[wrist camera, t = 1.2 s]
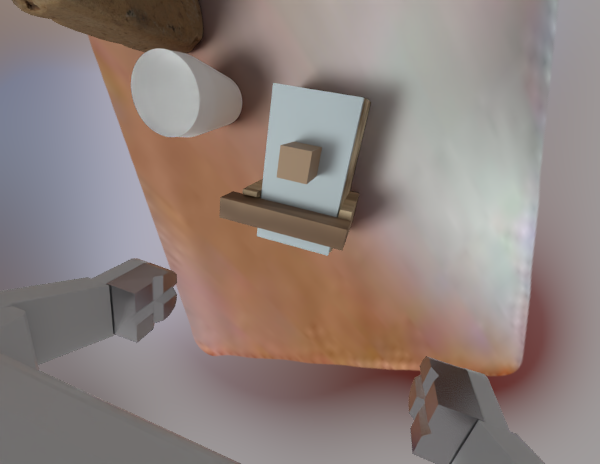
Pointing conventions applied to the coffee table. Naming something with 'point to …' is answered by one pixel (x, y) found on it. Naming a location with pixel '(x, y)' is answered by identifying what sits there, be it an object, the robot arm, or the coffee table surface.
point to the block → (127, 20)
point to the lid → (308, 153)
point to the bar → (285, 219)
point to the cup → (182, 94)
